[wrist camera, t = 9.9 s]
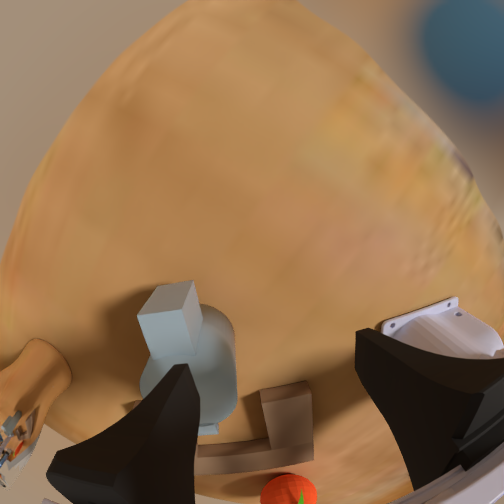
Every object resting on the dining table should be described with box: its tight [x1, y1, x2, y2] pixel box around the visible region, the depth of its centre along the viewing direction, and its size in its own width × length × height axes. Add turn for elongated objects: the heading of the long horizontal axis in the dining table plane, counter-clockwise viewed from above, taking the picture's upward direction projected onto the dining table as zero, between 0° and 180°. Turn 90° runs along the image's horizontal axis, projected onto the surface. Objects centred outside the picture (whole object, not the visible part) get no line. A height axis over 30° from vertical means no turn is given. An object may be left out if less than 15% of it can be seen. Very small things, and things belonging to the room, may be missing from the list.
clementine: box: [260, 474, 317, 504], centre depth 23 cm, size 8×7×7 cm
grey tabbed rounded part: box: [137, 280, 237, 435], centre depth 17 cm, size 9×6×7 cm, turn 10°
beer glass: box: [0, 339, 72, 490], centre depth 13 cm, size 7×7×15 cm
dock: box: [132, 381, 314, 475], centre depth 22 cm, size 16×11×2 cm
